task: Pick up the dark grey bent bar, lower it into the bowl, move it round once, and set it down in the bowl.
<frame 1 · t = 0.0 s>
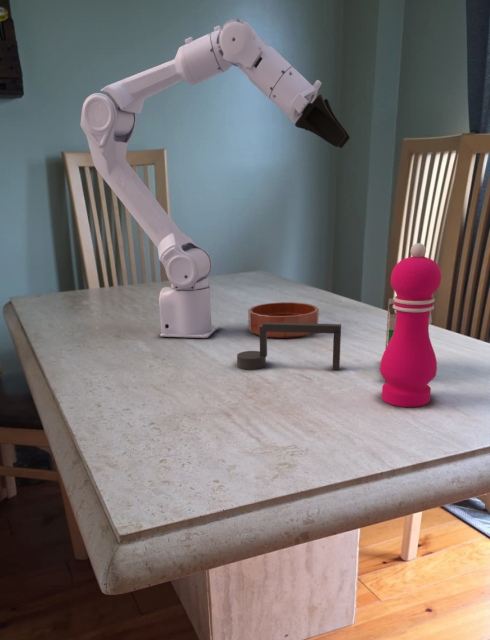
hand: (343, 142, 101), 32 cm above the table, tool tilted 50°, fingers open, 7 cm apart
pepper mill: (405, 400, 83), on the table
dark grey bent bar: (251, 365, 100), on the table
bowl: (283, 330, 120), on the table
food container: (405, 374, 94), on the table
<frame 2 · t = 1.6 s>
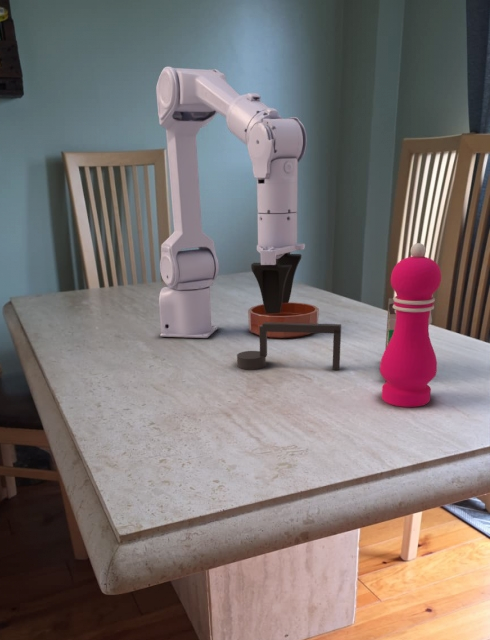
hand: (277, 307, 95), 9 cm above the table, tool pointing down, fingers open, 7 cm apart
nothing on the table moved.
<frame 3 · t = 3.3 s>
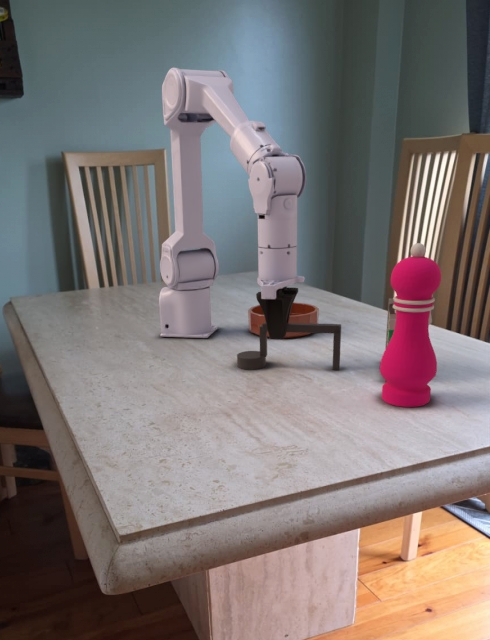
hand: (277, 337, 97), 5 cm above the table, tool pointing down, fingers closed on dark grey bent bar
dark grey bent bar: (251, 365, 100), on the table, touching gripper
everything else where it was.
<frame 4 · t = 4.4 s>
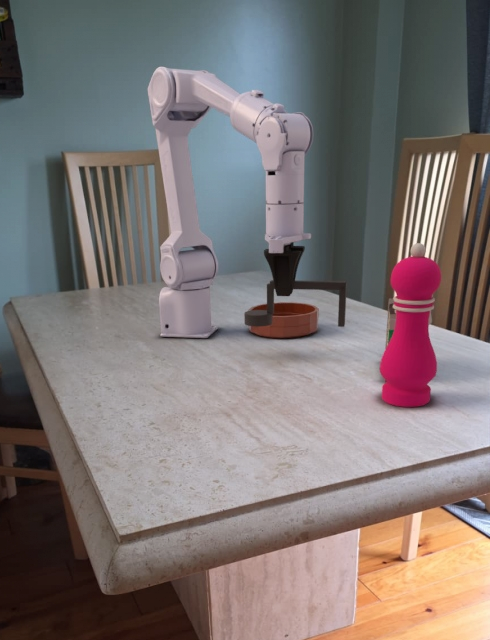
hand: (284, 294, 99), 10 cm above the table, tool pointing down, fingers closed on dark grey bent bar
dark grey bent bar: (258, 323, 102), point 6 cm above the table, touching gripper
everything else where it was.
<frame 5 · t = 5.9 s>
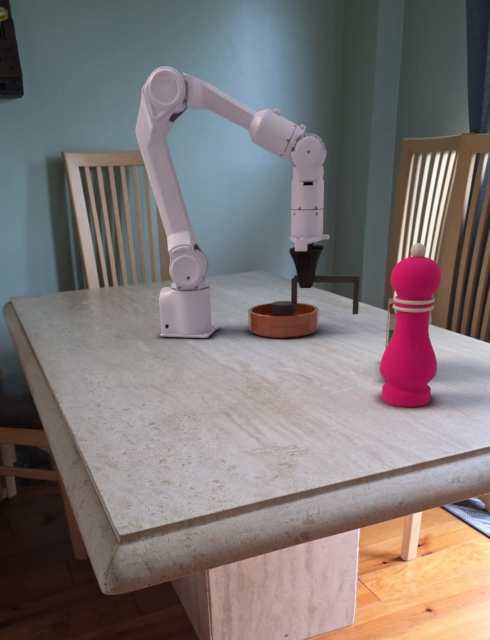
hand: (306, 287, 116), 8 cm above the table, tool pointing down, fingers closed on dark grey bent bar
dark grey bent bar: (283, 312, 119), point 4 cm above the table, touching gripper
everything else where it was.
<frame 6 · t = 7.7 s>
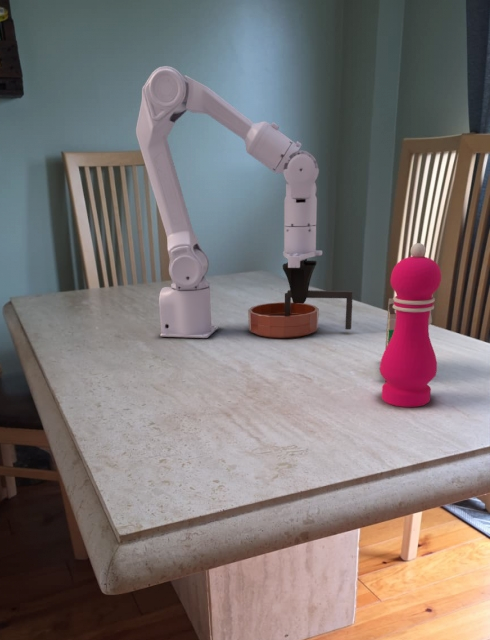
hand: (299, 302, 117), 6 cm above the table, tool pointing down, fingers closed on dark grey bent bar
dark grey bent bar: (277, 326, 120), point 1 cm above the table, touching gripper
everything else where it was.
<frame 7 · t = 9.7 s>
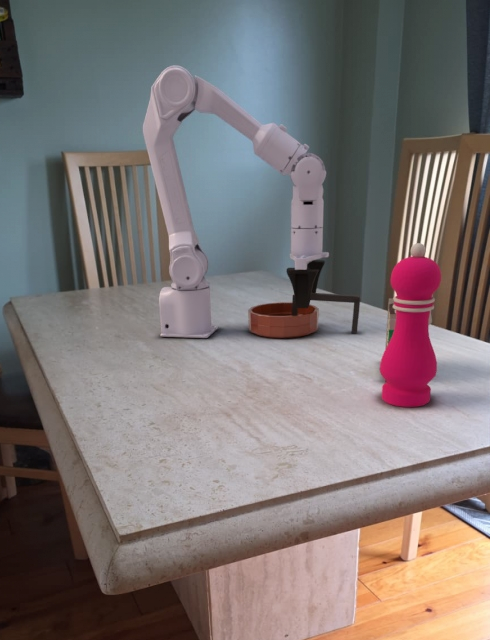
hand: (305, 303, 117), 5 cm above the table, tool pointing down, fingers open, 7 cm apart
dark grey bent bar: (283, 327, 120), point 1 cm above the table, touching bowl
everything else where it was.
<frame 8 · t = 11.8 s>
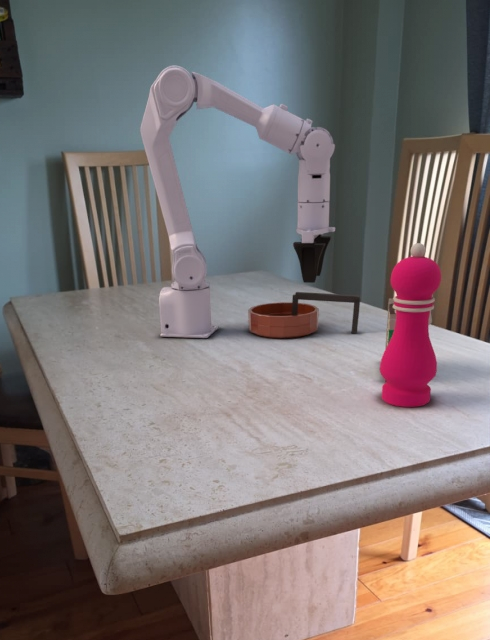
hand: (312, 278, 118), 9 cm above the table, tool pointing down, fingers open, 7 cm apart
nothing on the table moved.
at the end: dark grey bent bar 0.1 cm off-centre in the bowl, point 0.6 cm above the bowl's base; dark grey bent bar tilted 2°; the gripper is holding nothing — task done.
